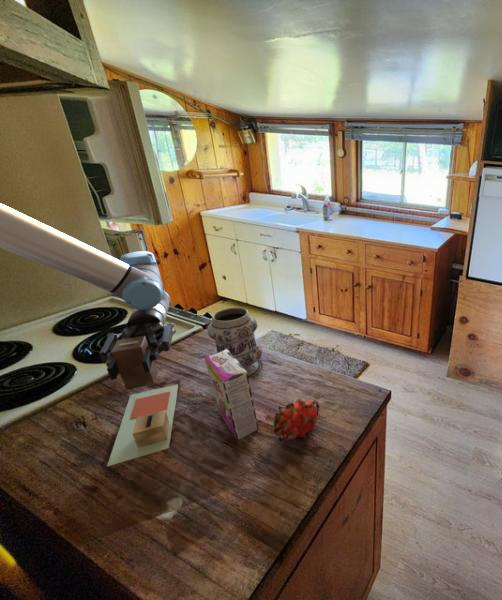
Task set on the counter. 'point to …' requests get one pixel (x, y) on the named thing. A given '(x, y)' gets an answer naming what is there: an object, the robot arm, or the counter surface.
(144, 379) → the brown rectangular block
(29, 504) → the counter surface
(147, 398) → the word mat
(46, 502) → the counter surface
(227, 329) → the apothecary jar
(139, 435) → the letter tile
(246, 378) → the candy bar box
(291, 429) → the dragon fruit
